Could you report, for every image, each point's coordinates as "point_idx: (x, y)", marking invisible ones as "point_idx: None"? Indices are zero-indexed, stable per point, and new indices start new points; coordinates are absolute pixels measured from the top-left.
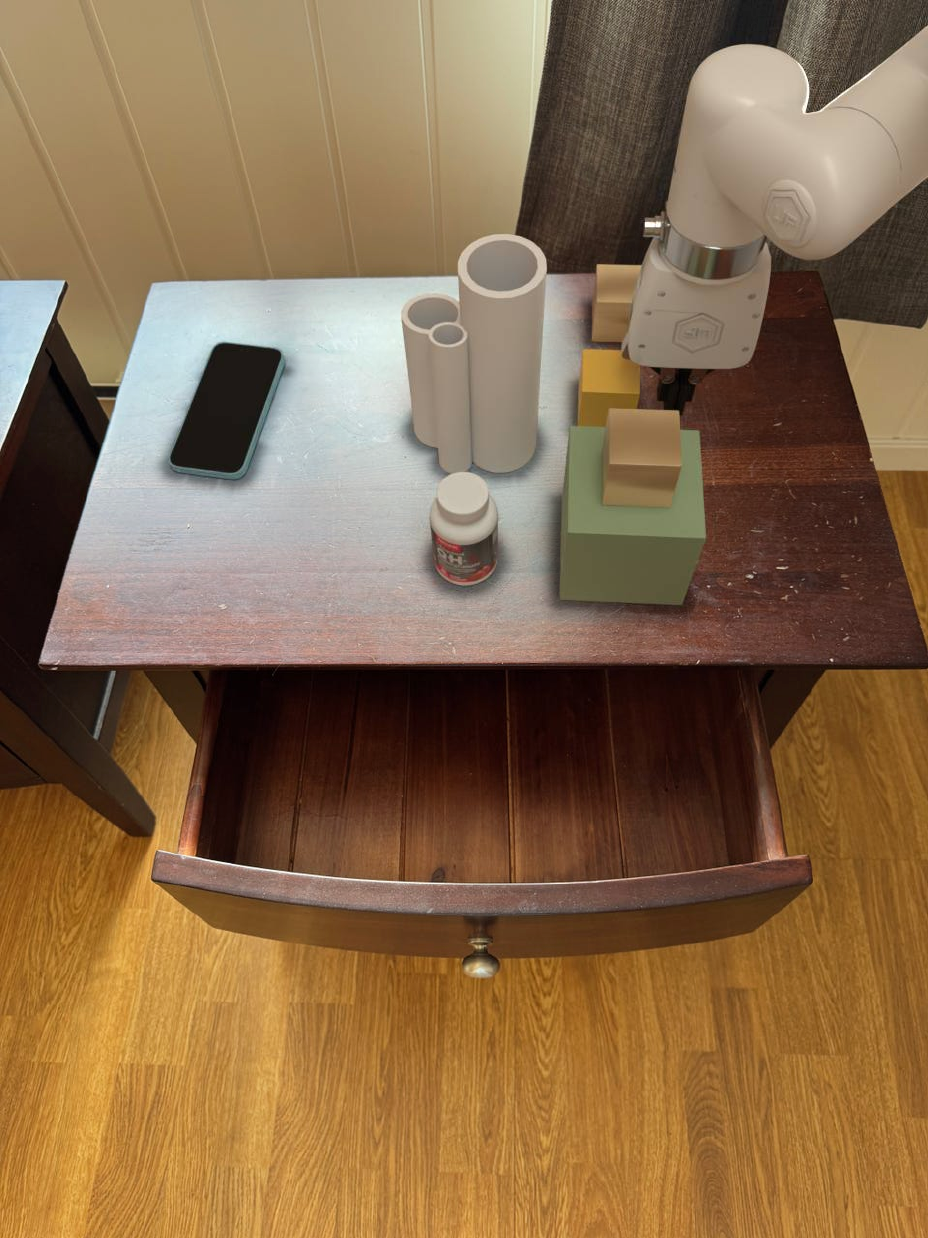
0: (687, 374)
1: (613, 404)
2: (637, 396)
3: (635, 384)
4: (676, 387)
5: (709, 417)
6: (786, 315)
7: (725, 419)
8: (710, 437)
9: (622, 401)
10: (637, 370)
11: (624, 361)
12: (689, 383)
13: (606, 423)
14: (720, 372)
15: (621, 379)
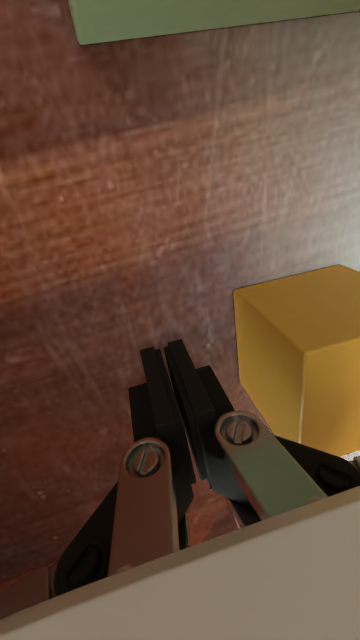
0: (176, 464)
1: (335, 311)
2: (303, 344)
3: (315, 379)
4: (196, 409)
5: (77, 371)
6: (11, 582)
7: (40, 377)
8: (58, 322)
9: (325, 322)
10: (305, 421)
11: (335, 433)
12: (158, 436)
13: (299, 283)
14: (86, 465)
15: (351, 381)
